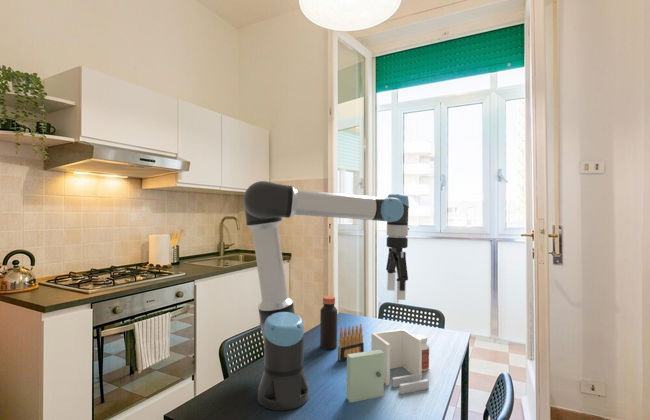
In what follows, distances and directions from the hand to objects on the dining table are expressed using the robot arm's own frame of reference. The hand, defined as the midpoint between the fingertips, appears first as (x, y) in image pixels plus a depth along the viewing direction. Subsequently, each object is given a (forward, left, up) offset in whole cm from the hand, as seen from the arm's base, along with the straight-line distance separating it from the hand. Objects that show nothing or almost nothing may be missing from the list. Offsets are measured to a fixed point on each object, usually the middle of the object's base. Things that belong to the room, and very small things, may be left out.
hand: (395, 294), depth 126 cm
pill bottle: (+6, -6, -25) cm, 27 cm away
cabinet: (-5, -11, -25) cm, 28 cm away
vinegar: (-18, +21, -25) cm, 38 cm away
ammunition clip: (-14, +9, -25) cm, 30 cm away
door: (-21, -17, -25) cm, 37 cm away
